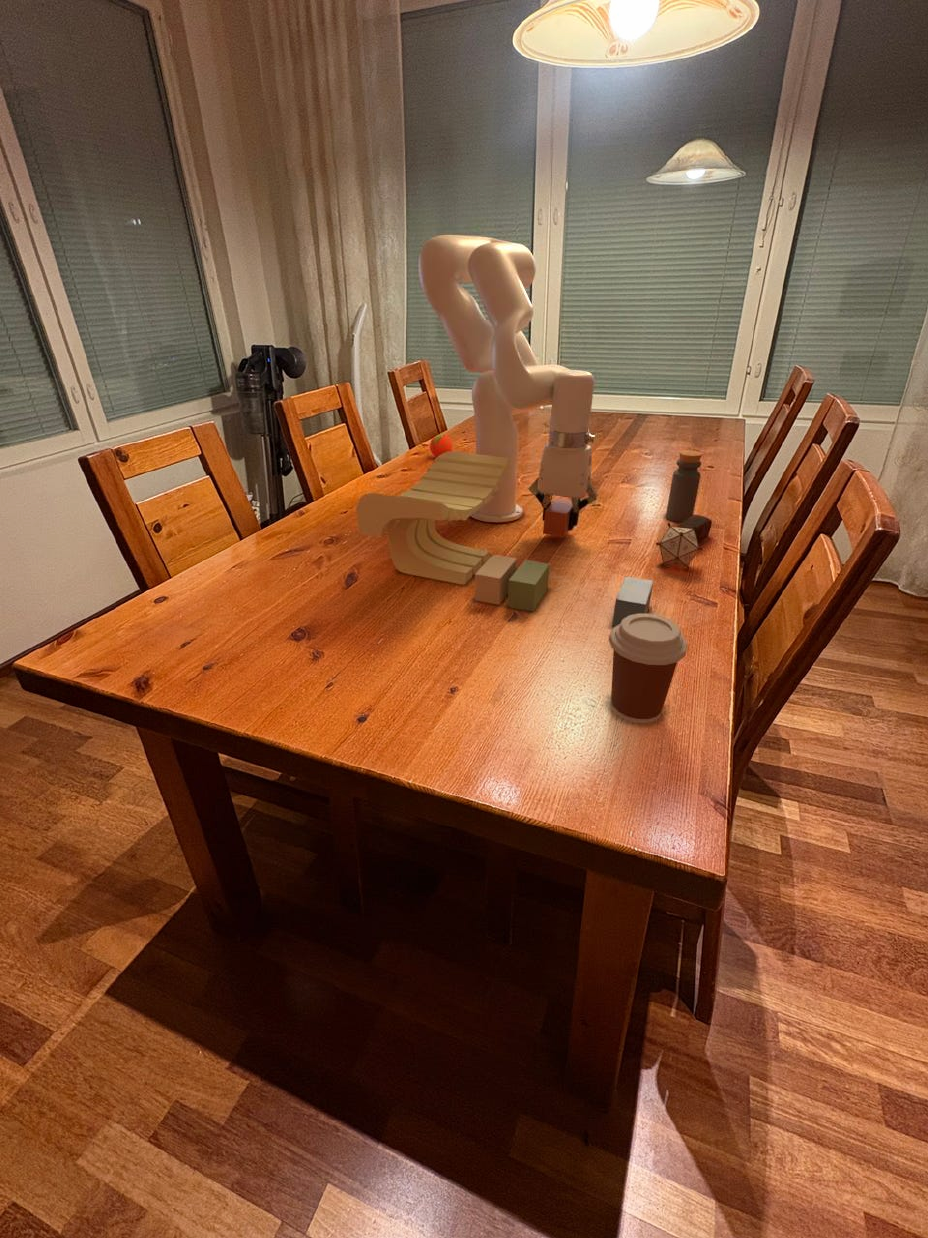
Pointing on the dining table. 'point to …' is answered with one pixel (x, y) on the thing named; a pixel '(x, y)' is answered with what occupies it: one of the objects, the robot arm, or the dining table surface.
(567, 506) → the loose block
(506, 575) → the block
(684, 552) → the game die
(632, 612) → the block
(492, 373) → the robot arm
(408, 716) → the dining table surface
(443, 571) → the slatted curved stool
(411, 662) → the dining table surface
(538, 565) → the block
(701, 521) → the brick
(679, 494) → the bottle
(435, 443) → the tomato
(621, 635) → the coffee cup
